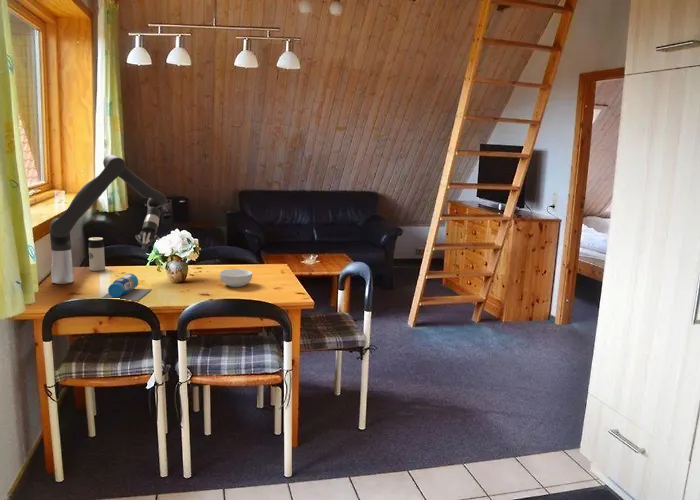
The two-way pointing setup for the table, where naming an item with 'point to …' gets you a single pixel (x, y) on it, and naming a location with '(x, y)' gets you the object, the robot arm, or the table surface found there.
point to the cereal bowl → (236, 277)
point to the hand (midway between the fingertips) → (143, 251)
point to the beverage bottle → (123, 285)
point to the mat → (132, 294)
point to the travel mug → (96, 254)
